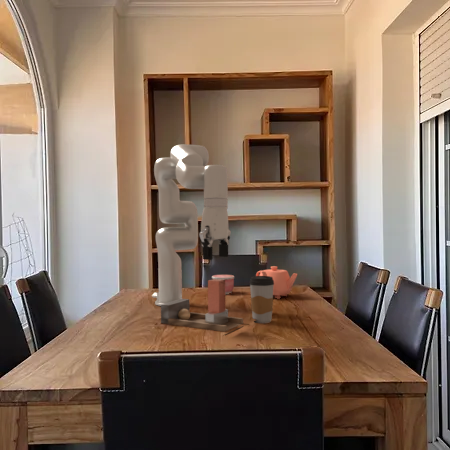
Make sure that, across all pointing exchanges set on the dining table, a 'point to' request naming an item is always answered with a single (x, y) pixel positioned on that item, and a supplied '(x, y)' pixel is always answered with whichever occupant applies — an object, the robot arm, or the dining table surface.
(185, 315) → the walnut
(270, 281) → the coffee cup
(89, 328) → the dining table surface
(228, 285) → the container
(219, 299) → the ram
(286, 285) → the teapot
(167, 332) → the dining table surface
